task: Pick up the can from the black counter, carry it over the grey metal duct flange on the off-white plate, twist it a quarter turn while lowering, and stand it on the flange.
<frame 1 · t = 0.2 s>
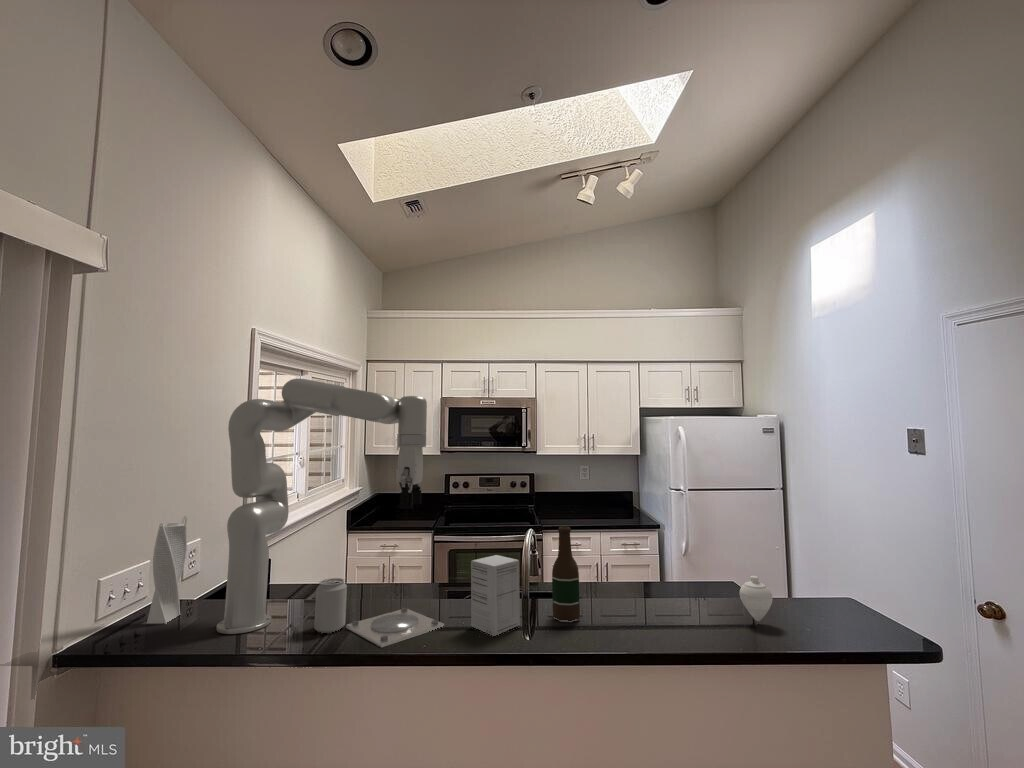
hand: (410, 506, 124), 31 cm above the table, tool pointing down, fingers open, 9 cm apart
can: (329, 630, 120), on the table
beer bottle: (566, 619, 127), on the table
skyscraper: (164, 622, 128), on the table
supplement box: (495, 628, 120), on the table
flange: (394, 627, 121), on the table
spinning top: (758, 625, 120), on the table
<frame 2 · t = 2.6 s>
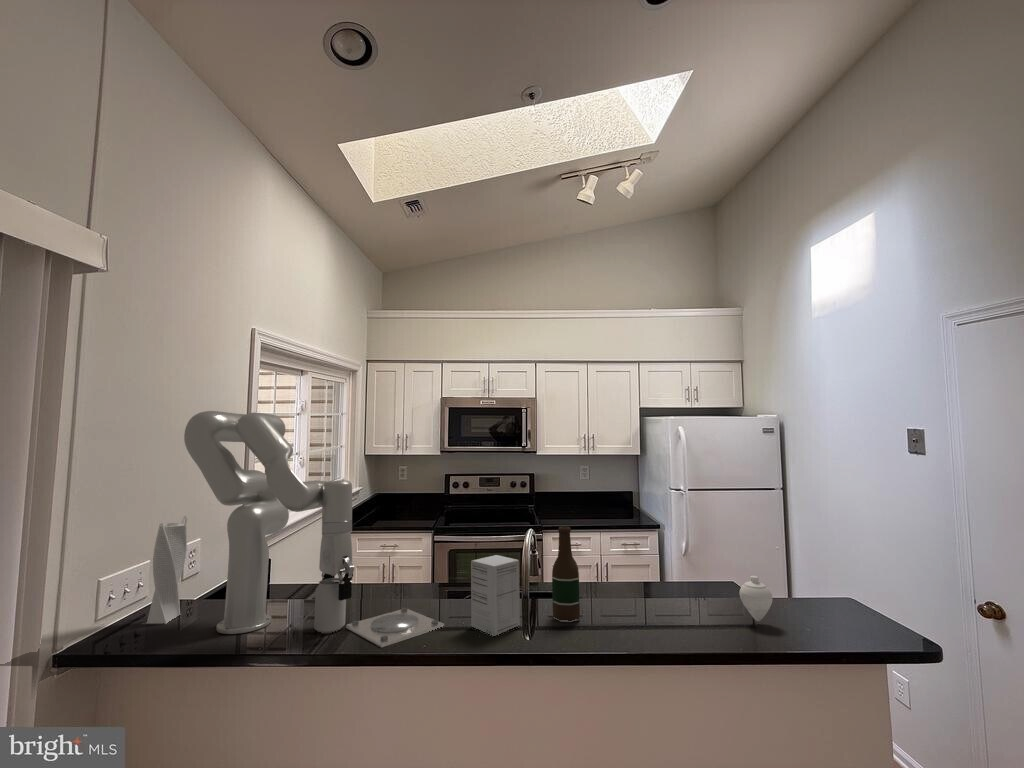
hand: (336, 595, 121), 8 cm above the table, tool pointing down, fingers open, 9 cm apart
can: (329, 629, 120), on the table, touching gripper
everything else where it was.
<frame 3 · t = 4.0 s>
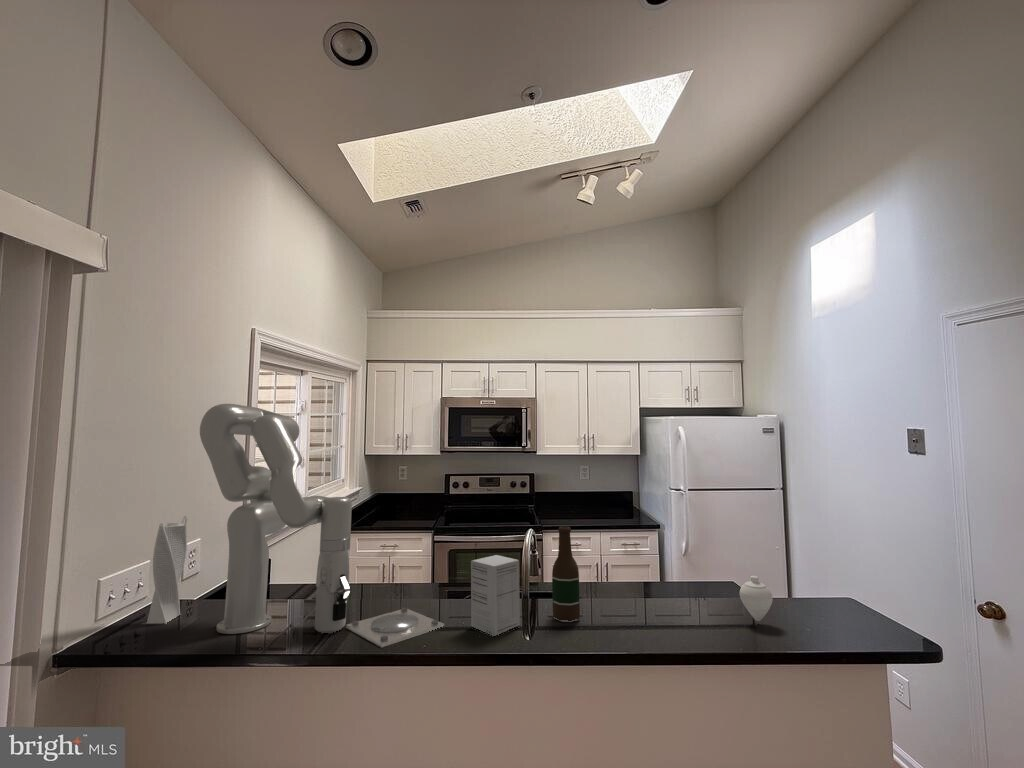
hand: (332, 615, 121), 3 cm above the table, tool pointing down, fingers closed on can, 7 cm apart
can: (330, 630, 120), on the table, touching gripper
everything else where it was.
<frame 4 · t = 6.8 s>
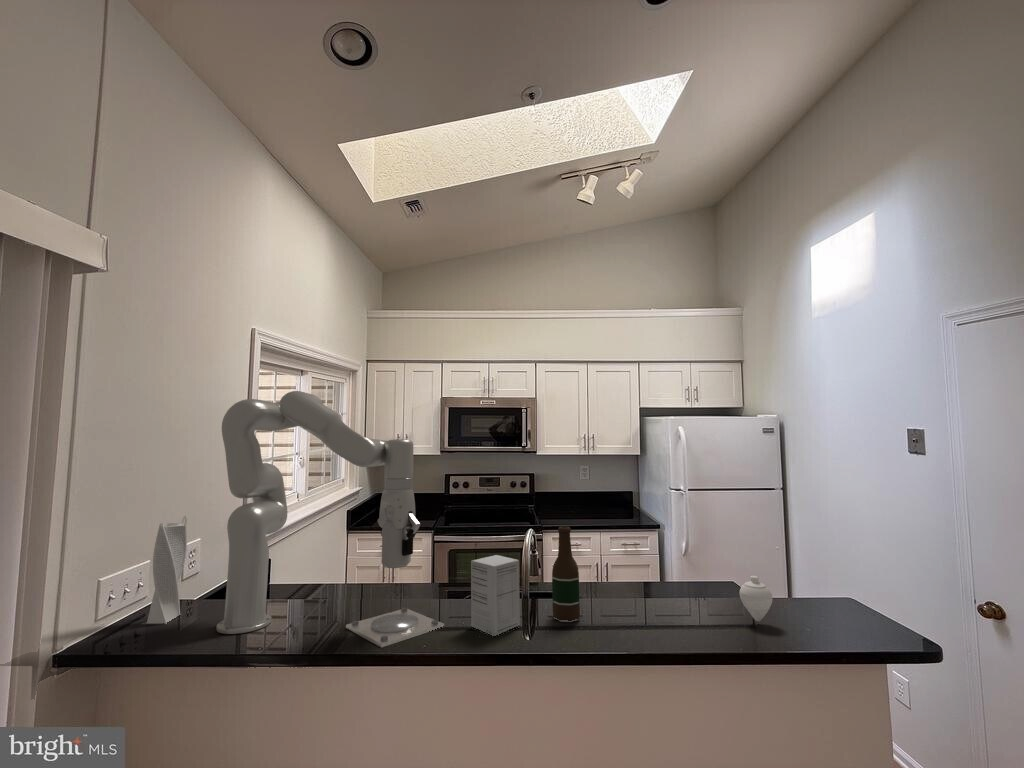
hand: (397, 552, 124), 19 cm above the table, tool pointing down, fingers closed on can, 7 cm apart
can: (396, 566, 123), point 15 cm above the table, touching gripper
everything else where it was.
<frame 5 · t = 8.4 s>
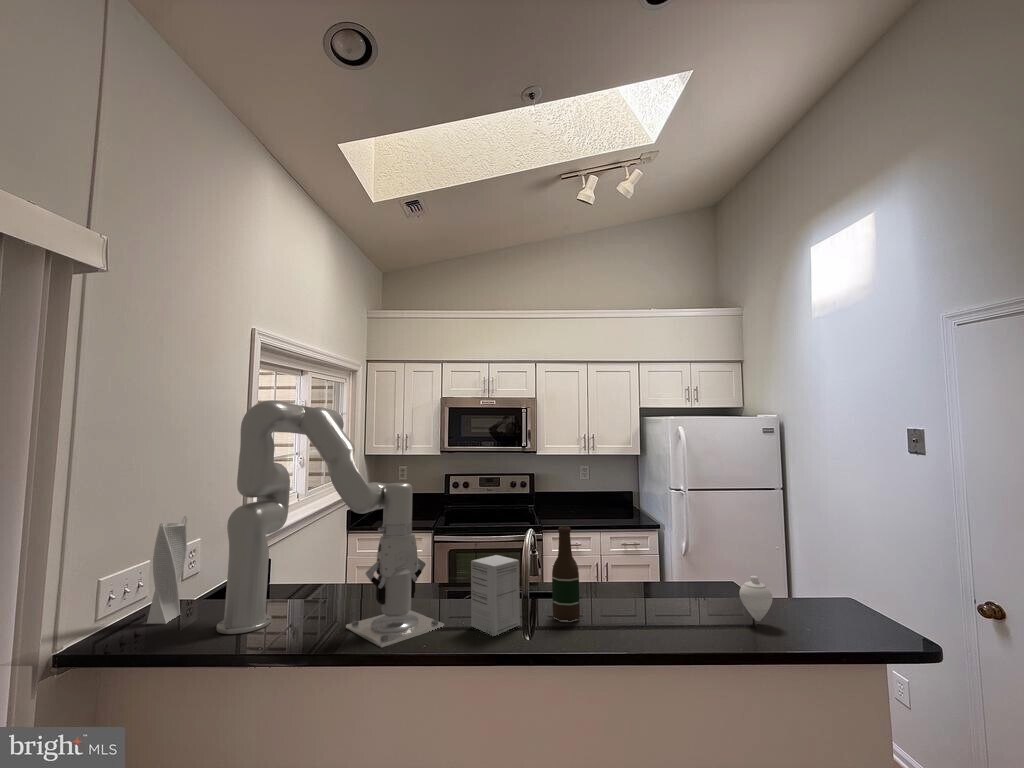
hand: (396, 599, 122), 7 cm above the table, tool pointing down, fingers closed on can, 7 cm apart
can: (396, 613, 121), point 3 cm above the table, touching gripper
everything else where it was.
when the fingers open (6 cm above the table, at t = 9.6 s): can stays where it is, resting on flange.
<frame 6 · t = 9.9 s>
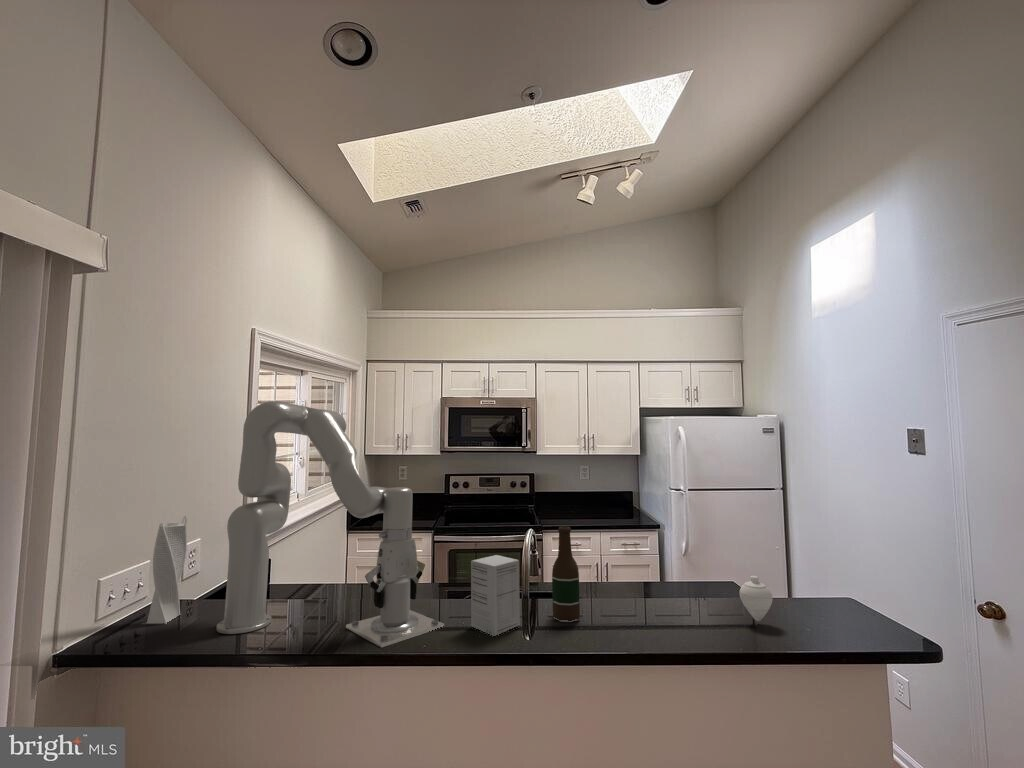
hand: (395, 602, 122), 6 cm above the table, tool pointing down, fingers open, 9 cm apart
can: (394, 622, 121), point 1 cm above the table, touching flange
everything else where it was.
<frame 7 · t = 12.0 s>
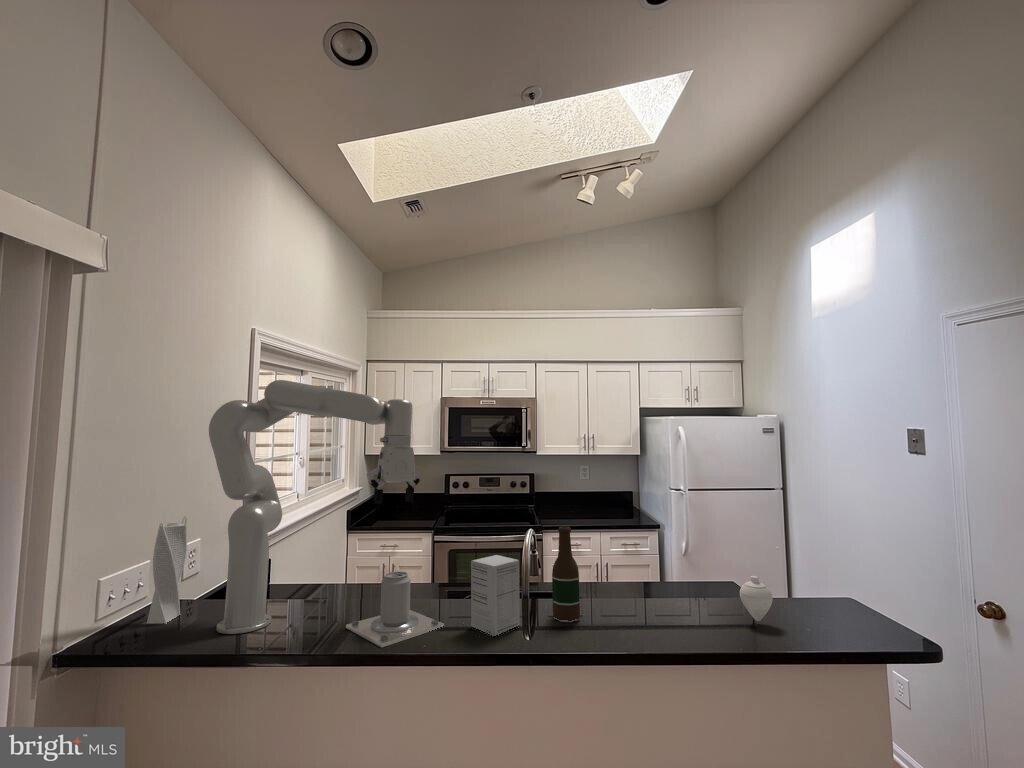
hand: (394, 502, 133), 31 cm above the table, tool pointing down, fingers open, 9 cm apart
nothing on the table moved.
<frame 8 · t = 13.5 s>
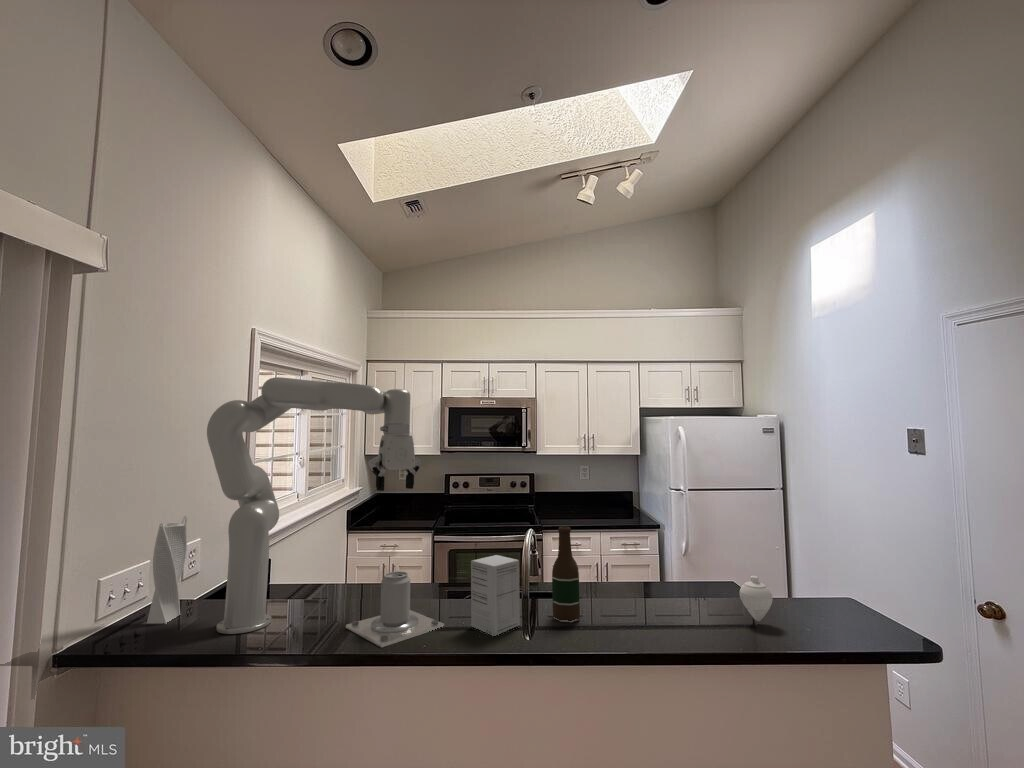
hand: (395, 489, 137), 34 cm above the table, tool pointing down, fingers open, 9 cm apart
nothing on the table moved.
at the end: can 0.2 cm from the flange (horizontally); can tilted 0°; can point 1.2 cm above the table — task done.
